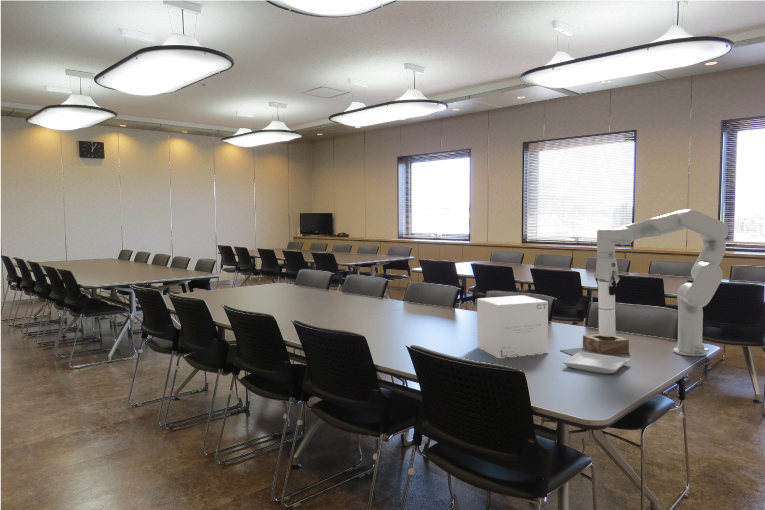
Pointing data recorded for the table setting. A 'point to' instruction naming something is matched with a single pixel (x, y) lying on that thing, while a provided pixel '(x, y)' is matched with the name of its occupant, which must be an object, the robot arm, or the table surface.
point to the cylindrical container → (606, 310)
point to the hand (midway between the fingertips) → (606, 293)
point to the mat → (576, 351)
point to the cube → (512, 326)
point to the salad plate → (595, 362)
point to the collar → (606, 344)
